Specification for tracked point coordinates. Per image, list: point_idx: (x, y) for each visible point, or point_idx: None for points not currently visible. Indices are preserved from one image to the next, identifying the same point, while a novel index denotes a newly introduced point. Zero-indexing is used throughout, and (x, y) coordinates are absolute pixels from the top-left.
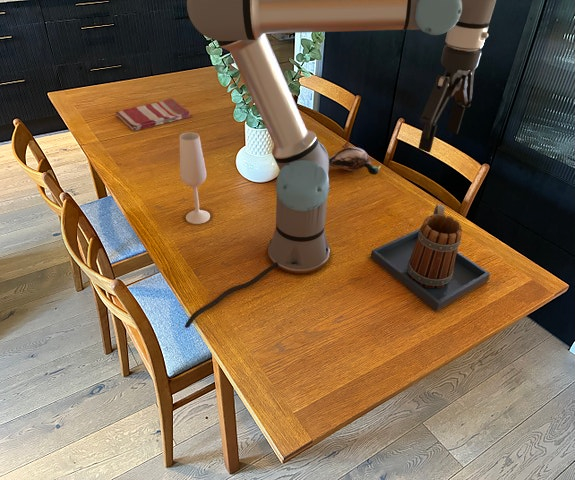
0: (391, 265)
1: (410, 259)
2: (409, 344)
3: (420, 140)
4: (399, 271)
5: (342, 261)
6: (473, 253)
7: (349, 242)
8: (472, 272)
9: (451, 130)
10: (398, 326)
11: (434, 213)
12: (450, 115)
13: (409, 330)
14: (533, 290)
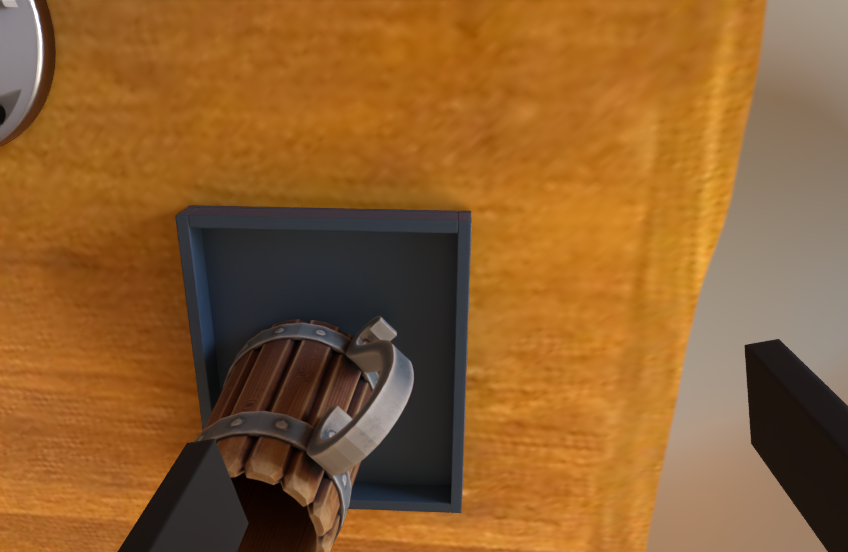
0: (191, 316)
1: (240, 362)
2: (78, 510)
3: (154, 499)
4: (196, 352)
5: (80, 161)
6: (546, 393)
7: (170, 83)
8: (448, 452)
9: (756, 402)
10: (87, 460)
11: (379, 379)
12: (837, 448)
13: (107, 483)
14: None
